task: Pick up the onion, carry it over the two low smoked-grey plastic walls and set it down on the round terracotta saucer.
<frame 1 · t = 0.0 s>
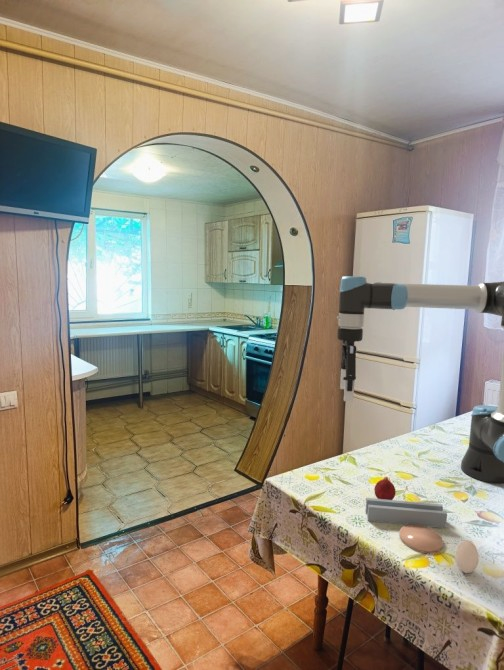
hand: (346, 394, 134), 28 cm above the table, tool pointing down, fingers open, 13 cm apart
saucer: (420, 539, 108), on the table
onion: (383, 503, 125), on the table
egg: (465, 572, 97), on the table
wall 1: (402, 515, 118), on the table
wall 2: (405, 523, 115), on the table
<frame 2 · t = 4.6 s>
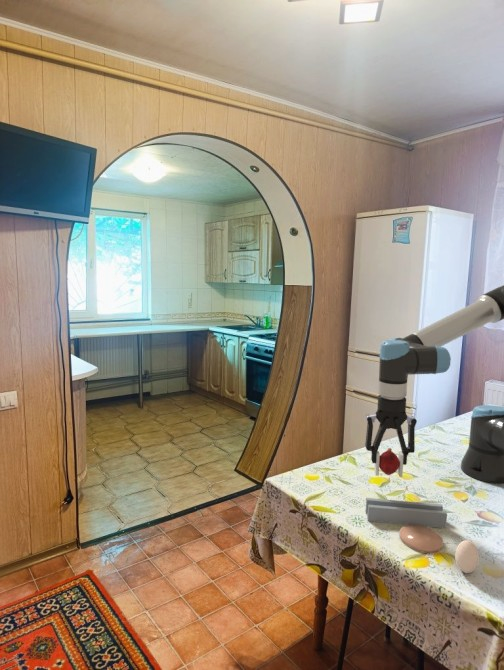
hand: (388, 473, 123), 9 cm above the table, tool pointing down, fingers closed on onion, 6 cm apart
onion: (388, 475, 123), point 8 cm above the table, touching gripper
everything else where it was.
when the fingers open (1 cm above the table, at t = 9.3 s): onion stays where it is, resting on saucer.
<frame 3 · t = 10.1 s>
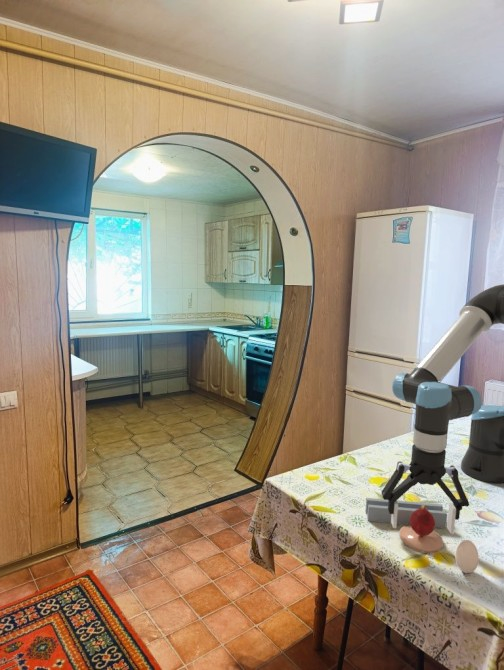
hand: (421, 527, 107), 3 cm above the table, tool pointing down, fingers open, 13 cm apart
onion: (421, 536, 108), point 1 cm above the table, touching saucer
everything else where it was.
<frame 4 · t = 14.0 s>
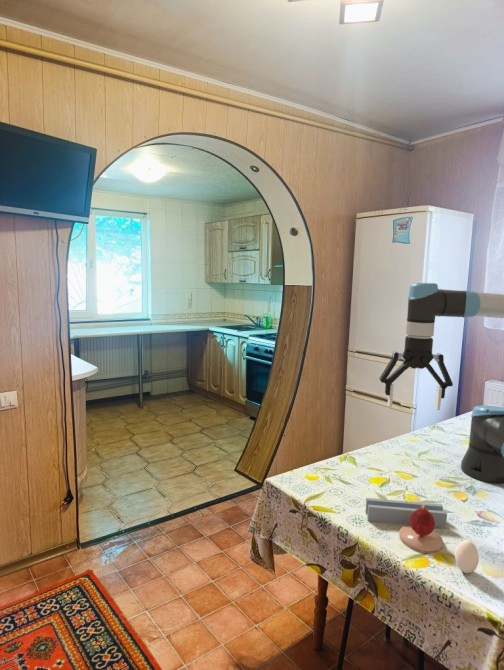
hand: (413, 407, 128), 27 cm above the table, tool pointing down, fingers open, 13 cm apart
nothing on the table moved.
at the end: onion 0.1 cm from the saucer (horizontally); onion point 0.8 cm above the table; the gripper is holding nothing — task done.
